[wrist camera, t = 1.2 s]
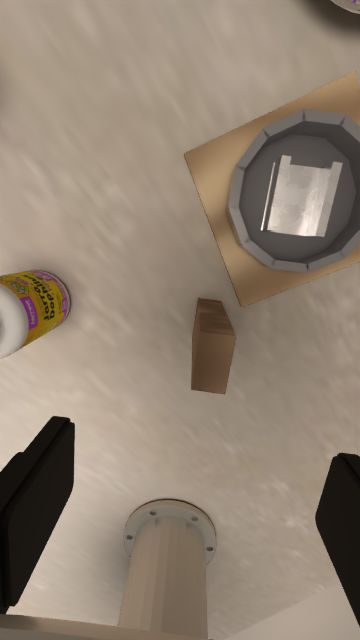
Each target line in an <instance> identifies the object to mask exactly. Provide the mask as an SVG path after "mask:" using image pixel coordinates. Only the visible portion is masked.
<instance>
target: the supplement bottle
mask: <svg viewBox="0 0 360 640" xmlns="http://www.w3.org/2000/svg"><path fill="white" fill-rule="evenodd" d="M69 308H70V299H69V295H68V292H67V290H66V288H65V286H64V285H63V284H62V282H61V281H60V280H59V279H57V278H56V277H55V276H53V275H51V274H49V273H47V272H43V271H27V272H21V273H15V274H9V275H3V276H0V359H1V358H4V357H7V356H9V355H11V354H13V353H14V352H16V351H18V350H19V349H21V348H22V347H24V346H26V345H27V344H29V343H31V342H32V341H34V340H36V339H37V338H39V337H41V336H42V335H44V334H46V333H47V332H49V331H51V330H52V329H54V328H55V327H57V326H58V325H60V324H61V323H62V322H63V321H64V320H65V318H66V317H67V315H68V312H69Z"/></svg>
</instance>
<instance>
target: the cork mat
mask: <svg viewBox="0 0 360 640" xmlns="http://www.w3.org/2000/svg"><path fill="white" fill-rule="evenodd" d="M302 109H303V110H304V109H311V110H319V111H327V112H335V113H343V114H347V115H348V116H349V117H350V118H351V119H352V120H353V121H354V122H356V123H357V124H358V125H359V126H360V89H359V85H358V81H357V76H356V72H352V73H350V74H348V75H346V76H344V77H342V78H340V79H338V80H336V81H334V82H332V83H330V84H328V85H325V86H323V87H321V88H319V89H317V90H315V91H313V92H311V93H309V94H307V95H305V96H303V97H301V98H299V99H296V100H294V101H292V102H290V103H288V104H286V105H284V106H282V107H280V108H278V109H276V110H274V111H272V112H269V113H267V114H265V115H263V116H261V117H259V118H257V119H255V120H253V121H251V122H249V123H247V124H245V125H243V126H240V127H238V128H236V129H234V130H232V131H230V132H228V133H226V134H224V135H222V136H220V137H218V138H216V139H214V140H211V141H209V142H207V143H205V144H203V145H201V146H199V147H197V148H195V149H193V150H191V151H189V152H187V153H184V156H185V159H186V162H187V164H188V167H189V170H190V172H191V175H192V178H193V180H194V183H195V186H196V188H197V191H198V194H199V196H200V199H201V202H202V204H203V207H204V210H205V212H206V215H207V217H208V220H209V223H210V225H211V228H212V231H213V233H214V236H215V239H216V241H217V244H218V247H219V249H220V252H221V255H222V257H223V260H224V263H225V265H226V268H227V271H228V273H229V276H230V279H231V281H232V284H233V287H234V289H235V292H236V295H237V297H238V300H239V303H240V305H241V307H244V306H247V305H249V304H252V303H254V302H257V301H259V300H262V299H265V298H267V297H270V296H272V295H275V294H278V293H280V292H283V291H285V290H288V289H290V288H293V287H296V286H298V285H301V284H303V283H306V282H309V281H311V280H314V279H316V278H319V277H321V276H324V275H327V274H329V273H332V272H334V271H337V270H339V269H342V268H345V267H347V266H350V265H352V264H355V263H358V262H360V243H359V244H358V245H357V246H356V247H355V248H354V249H353V251H352V252H351V253H350V254H349V255H348V256H347V257H346V258H345V259H343V260H340V261H338V262H335V263H333V264H330V265H328V266H325V267H323V268H320V269H317V270H315V271H312V272H310V273H302V272H294V271H286V270H279V269H271V268H268V267H266V266H263V265H262V264H260V263H259V262H258V261H257V260H256V259H254V258H253V257H252V256H250V255H249V254H248V253H247V252H246V251H244V250H243V249H242V248H241V247H239V246H238V244H237V243H236V240H235V237H234V235H233V233H232V230H231V228H230V224H229V221H228V218H227V215H226V211H225V209H226V203H227V194H228V189H229V184H230V178H231V173H232V171H233V169H234V167H235V165H236V164H237V163H238V161H239V160H240V158H241V157H242V156H243V154H244V153H245V152H246V150H247V149H248V148H249V146H250V145H251V143H252V142H253V141H254V139H255V138H256V137H257V135H258V134H259V133H260V131H261V130H262V129H263V128H264V127H266V126H268V125H270V124H272V123H275V122H277V121H279V120H281V119H283V118H285V117H287V116H289V115H291V114H294V113H296V112H298V111H300V110H302Z"/></svg>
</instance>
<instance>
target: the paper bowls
mask: <svg viewBox="0 0 360 640" xmlns="http://www.w3.org/2000/svg"><path fill="white" fill-rule="evenodd" d="M331 1H332V2H333V3H334V4H336V5H338V6H340V7H342V8H343V9H346V10H348V11H350V12H353V13H357V14H360V0H331Z"/></svg>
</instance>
